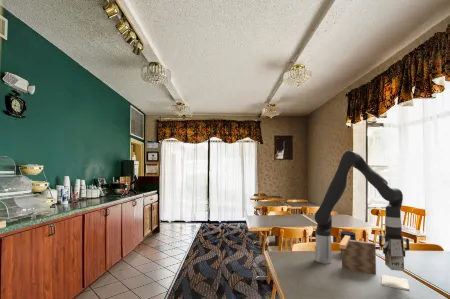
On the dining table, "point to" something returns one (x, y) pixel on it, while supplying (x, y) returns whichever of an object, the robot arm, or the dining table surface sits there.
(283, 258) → the dining table surface
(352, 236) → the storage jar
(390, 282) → the cream pad
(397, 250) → the coffee box
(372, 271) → the brown wooden flat panel
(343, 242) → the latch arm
